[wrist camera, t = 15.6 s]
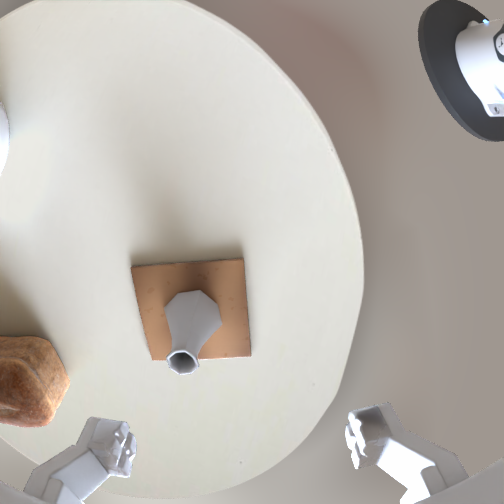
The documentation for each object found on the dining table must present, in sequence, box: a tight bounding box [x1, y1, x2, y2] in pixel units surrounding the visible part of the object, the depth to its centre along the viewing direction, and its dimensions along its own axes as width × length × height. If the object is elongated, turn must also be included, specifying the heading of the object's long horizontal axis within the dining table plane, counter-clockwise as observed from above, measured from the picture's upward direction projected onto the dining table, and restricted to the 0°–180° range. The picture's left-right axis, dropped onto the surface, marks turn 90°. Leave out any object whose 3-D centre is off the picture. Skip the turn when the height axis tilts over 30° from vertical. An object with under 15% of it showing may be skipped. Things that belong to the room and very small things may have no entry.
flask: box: [164, 290, 222, 375], centre depth 33 cm, size 7×7×10 cm
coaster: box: [131, 258, 251, 360], centre depth 38 cm, size 14×14×1 cm
